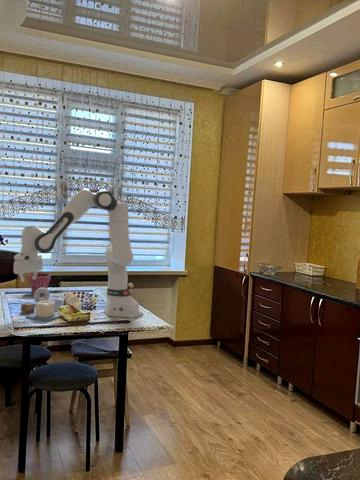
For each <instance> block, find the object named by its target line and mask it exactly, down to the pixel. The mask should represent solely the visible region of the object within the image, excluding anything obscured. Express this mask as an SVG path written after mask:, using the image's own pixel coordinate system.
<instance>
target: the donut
mask: <svg viewBox="0 0 360 480" xmlns="http://www.w3.org/2000/svg"><path fill="white" fill-rule="evenodd" d="M41 293H44V294H43V295H44V296H43V297H40V294H41ZM50 297H51V293H50V290H48V288H47V289H46V288H39V289H37V290H36V291H35V293H34V294H33V300H34V301H35V303H37V302H40V301H44V300H45V301H50V299H51V298H50Z"/></svg>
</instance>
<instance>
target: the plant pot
mask: <svg viewBox="0 0 360 480" xmlns="http://www.w3.org/2000/svg"><path fill="white" fill-rule="evenodd" d="M33 274H34V273H30V274H28V275H27V276H28V277H27V279H28V281H29V284H30V289H31V290H30V291H31V294H33V295H34V293H35V291H36V290H37V289H39V288H46V289H48V288H49V284H50V281H51V279H52V278H51V274H50V273H45V272H44V273H43V272H42V273H41V272H40V273H39V272H38V274H37V276H36V279H32V276H33ZM40 295H41V296H42V295H44V293H41V294H40ZM40 295H39V296H40Z"/></svg>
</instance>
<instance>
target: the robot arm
mask: <svg viewBox="0 0 360 480" xmlns="http://www.w3.org/2000/svg"><path fill="white" fill-rule="evenodd" d="M92 207H96V208H98V209H99V210H104V211H107V212H108V217H109V218H108V231H109V233H108V235H109V239H110V244H111V245H109V246H108V247H107V248H106V250H105V257H106V265H107V272H108V273H107V274H108V275H107V276H108V277H107V280H108V281H107V289H106V297H107V298H106V304H105V308H104V310H103V313H104V314H105V315H106V316H108V317H109V316H111V317H120V318H121V317H122V318H130V319H134V318H138V317H140V316H142V315H144V312H143V311H142V310H140V305H139V303H138V301H136V300H135V299H134V298H133V297H132V296H131V295H130V294H131V292H132V290H131V289H128V281H129V280H128V278H129V277H128V272H127V267H126V266H129V265H130V264H131V263H132V262H133V261H134V253H133V251H132V247H131V241H130V235H129V232H130V230H129V229H130V228H129V227H130V226H129V224H130V223H129V220H130V219H129V212H128V206H127V204H126V203H124V202H122V201H118V200H117V199H116V198H115V196H114V194H113V192H111V191H109V190H108V189H101V190H98V191H95V192H92V191H91V190H89V189H88V188H83V189H81V190H79V191H78V192H76V194H74V195H73V197H72V198H70V200H68V201H67V203H66V205H65V206H64V208H63V209H62V211H61V213H60V216H59V217H58V219H57V220H56V221H55V222H54V224H52V226H51V227H50V228H49V229H48V230H47V231H44V230H42V229H41V228H39V227H38V226H36V225H35V226H34V225H31V226H27V227H26V226H25V228H23V229H22V231H21V241H20V242H21V248H20V252H18V253H17V254H15V255H14V256H13V258H14V259H13V260H14V262H13V274H15V275H18V277H19V279H20V282H21V283H23V282H25V280H26V278H25V277H24V276H25V274H28V273H30V274H31V273H32V274H33V276H32V279H36V276H37V274H38V273H39V272H40V271H42V270H43V269H44V268H43V267H44V264H43V258H42V255H41V254H47V253H50V252H51V251H52V250H53V249H54V247H55V245H56V243H57V242H56V241H57V239H58V238H59V237H60V236H61V235H62V234H63V232H64V231H65V230H66V229H67V228H69V226H71V225H72V224H74V223H76V222H78V221H79V220H80V219H81V218H82V217H84V215H85V214H86V213H87V212H88V211H89V210H90V209H91V208H92ZM40 253H41V254H40Z"/></svg>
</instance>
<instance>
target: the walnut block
mask: <svg viewBox="0 0 360 480" xmlns="http://www.w3.org/2000/svg"><path fill="white" fill-rule="evenodd" d="M35 309H36V303H34V302H33V303H32V302H28V301H27V302H24V303H21V305H20V314H26V315H31V314H34V313H35Z"/></svg>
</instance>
